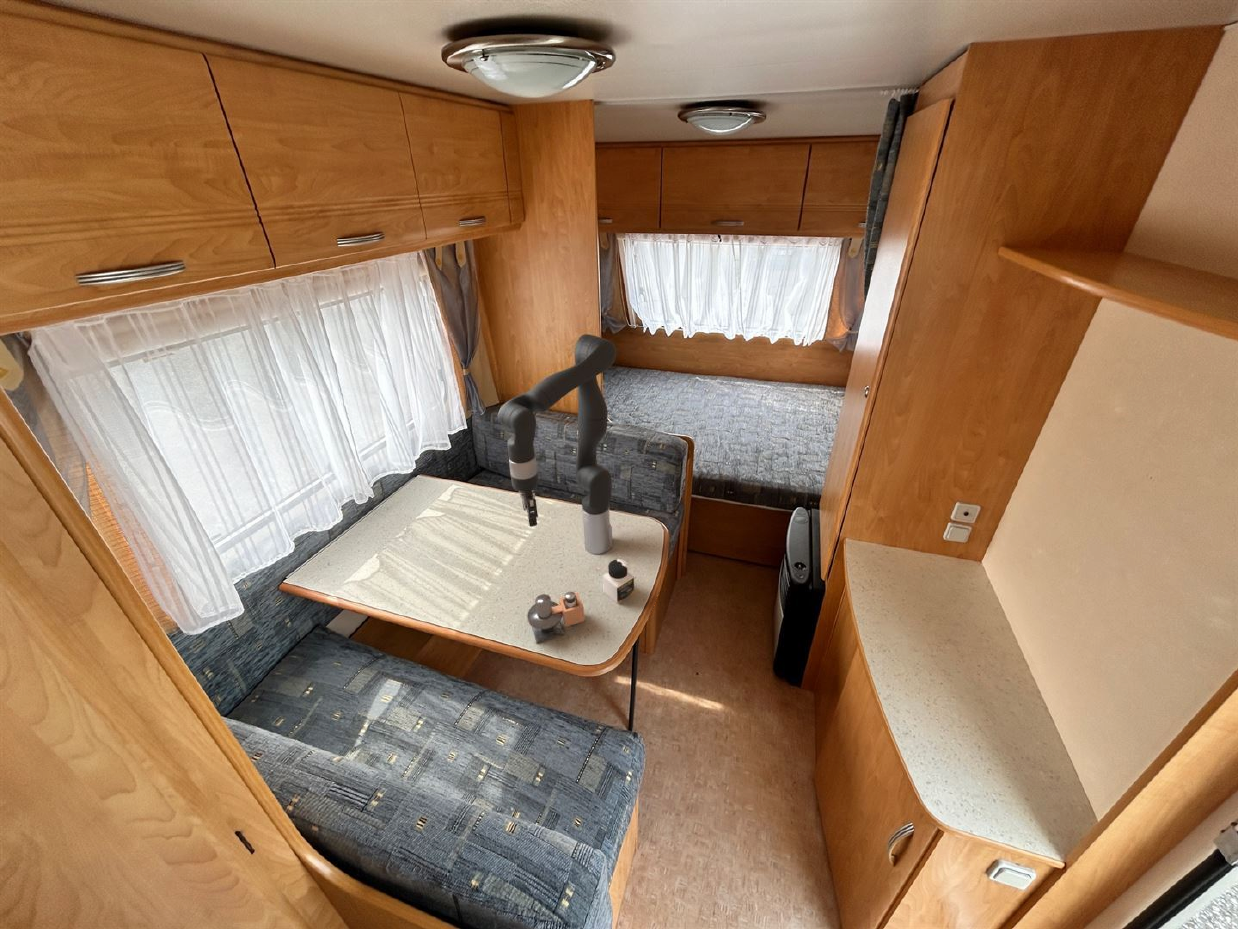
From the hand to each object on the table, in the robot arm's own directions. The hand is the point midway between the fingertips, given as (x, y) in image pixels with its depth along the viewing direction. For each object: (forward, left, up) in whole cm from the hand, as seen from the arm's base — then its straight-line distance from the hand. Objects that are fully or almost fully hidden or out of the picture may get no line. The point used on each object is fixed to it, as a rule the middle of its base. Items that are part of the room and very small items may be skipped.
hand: (530, 517), depth 152 cm
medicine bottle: (-23, +12, -28) cm, 38 cm away
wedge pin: (-6, +18, -28) cm, 34 cm away
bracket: (-4, +18, -26) cm, 32 cm away
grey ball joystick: (+2, +18, -28) cm, 33 cm away
